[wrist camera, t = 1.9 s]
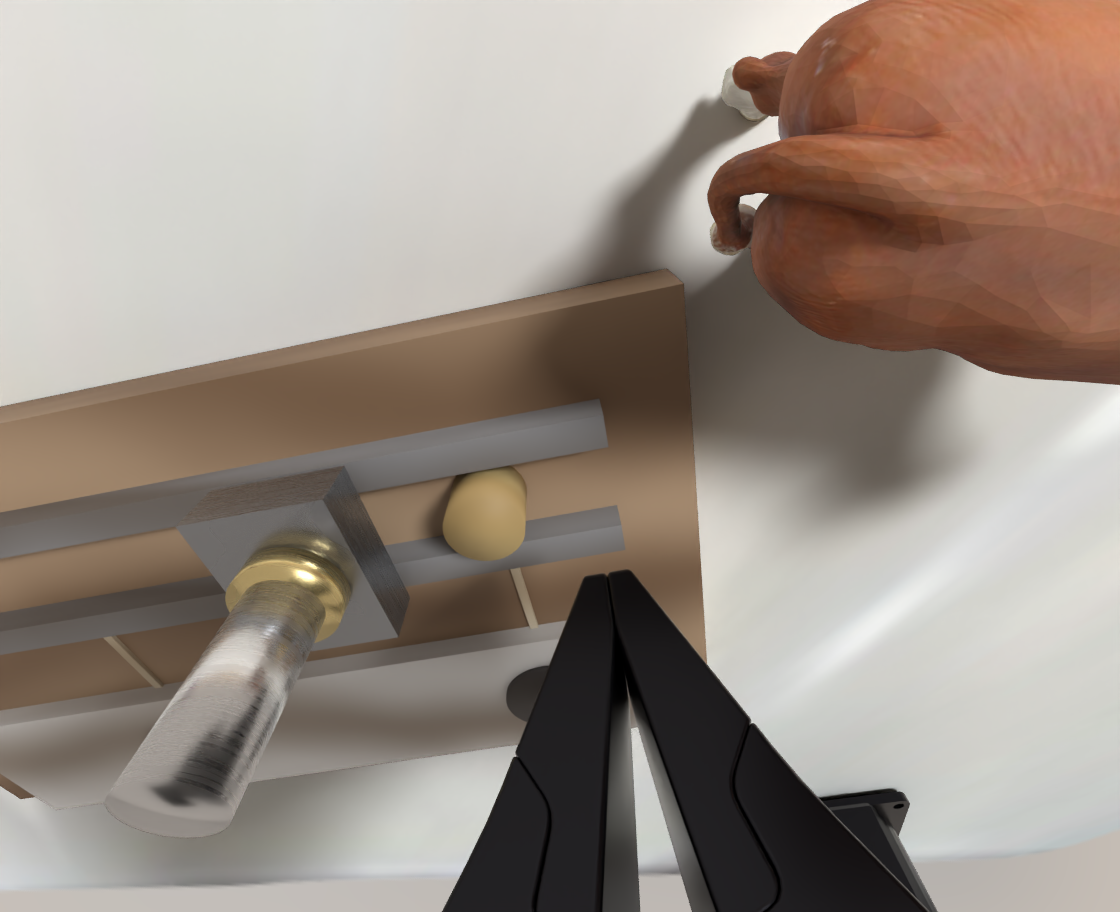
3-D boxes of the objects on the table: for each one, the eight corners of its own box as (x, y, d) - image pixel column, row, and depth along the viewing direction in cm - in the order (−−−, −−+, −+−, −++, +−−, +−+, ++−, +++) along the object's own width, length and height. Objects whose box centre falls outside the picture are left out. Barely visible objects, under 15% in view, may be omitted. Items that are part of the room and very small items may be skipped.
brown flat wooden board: (697, 661, 18) (722, 743, 16) (53, 758, 20) (-18, 846, 18) (667, 268, 11) (705, 303, 8) (-332, 475, 13) (-548, 555, 10)
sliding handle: (410, 597, 12) (333, 859, 8) (297, 616, 13) (157, 882, 8) (344, 465, 10) (186, 714, 6) (210, 491, 11) (-44, 749, 6)
